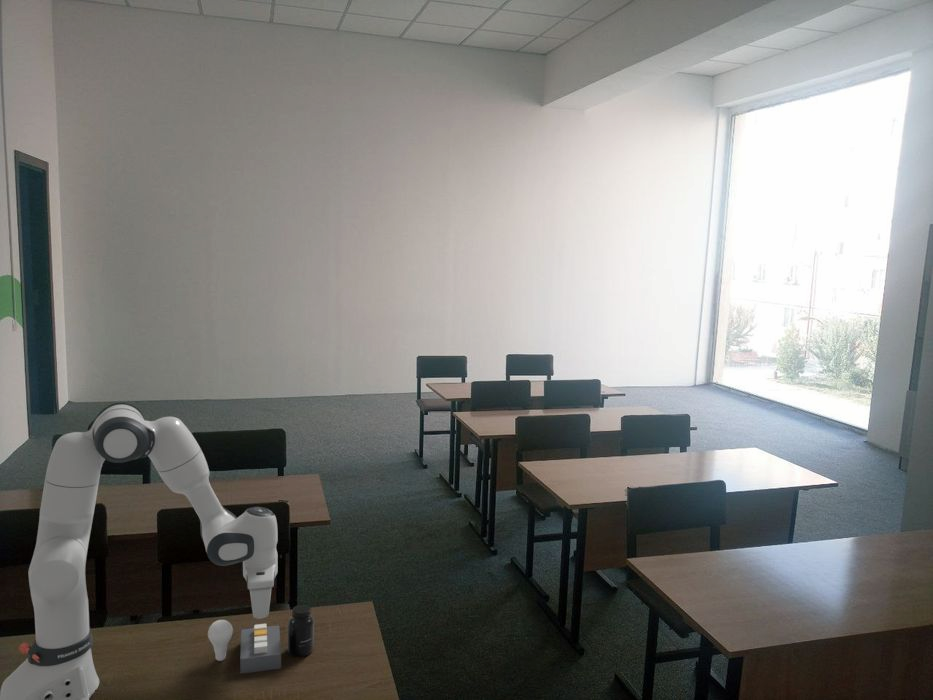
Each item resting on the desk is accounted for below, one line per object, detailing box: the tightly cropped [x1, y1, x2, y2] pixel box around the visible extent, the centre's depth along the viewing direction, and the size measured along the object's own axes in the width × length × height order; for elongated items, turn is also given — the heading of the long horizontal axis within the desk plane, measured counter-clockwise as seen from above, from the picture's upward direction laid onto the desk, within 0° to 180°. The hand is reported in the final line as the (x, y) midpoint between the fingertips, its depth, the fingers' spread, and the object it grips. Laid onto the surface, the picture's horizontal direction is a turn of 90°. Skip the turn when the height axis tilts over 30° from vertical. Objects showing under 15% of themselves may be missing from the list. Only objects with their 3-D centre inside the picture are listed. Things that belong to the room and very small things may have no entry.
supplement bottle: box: [287, 604, 315, 658], centre depth 188 cm, size 7×7×12 cm
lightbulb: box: [207, 619, 234, 662], centre depth 182 cm, size 6×6×11 cm
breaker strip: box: [239, 622, 282, 674], centre depth 189 cm, size 22×10×6 cm, turn 17°
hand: (260, 615), depth 187 cm, fingers closed
